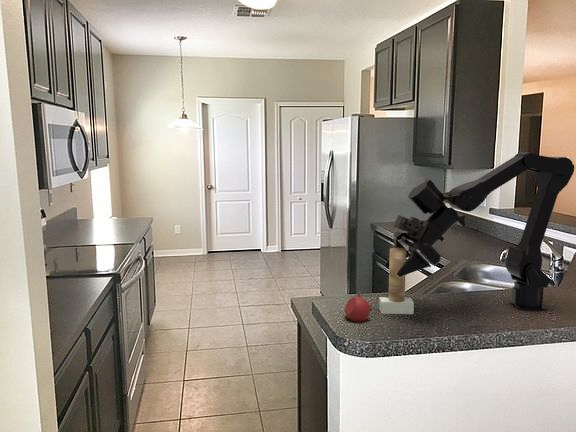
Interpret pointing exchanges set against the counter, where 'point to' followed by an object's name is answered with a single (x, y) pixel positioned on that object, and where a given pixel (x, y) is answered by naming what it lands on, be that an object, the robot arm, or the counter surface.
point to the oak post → (394, 280)
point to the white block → (396, 306)
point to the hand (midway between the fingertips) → (391, 270)
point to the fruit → (357, 309)
